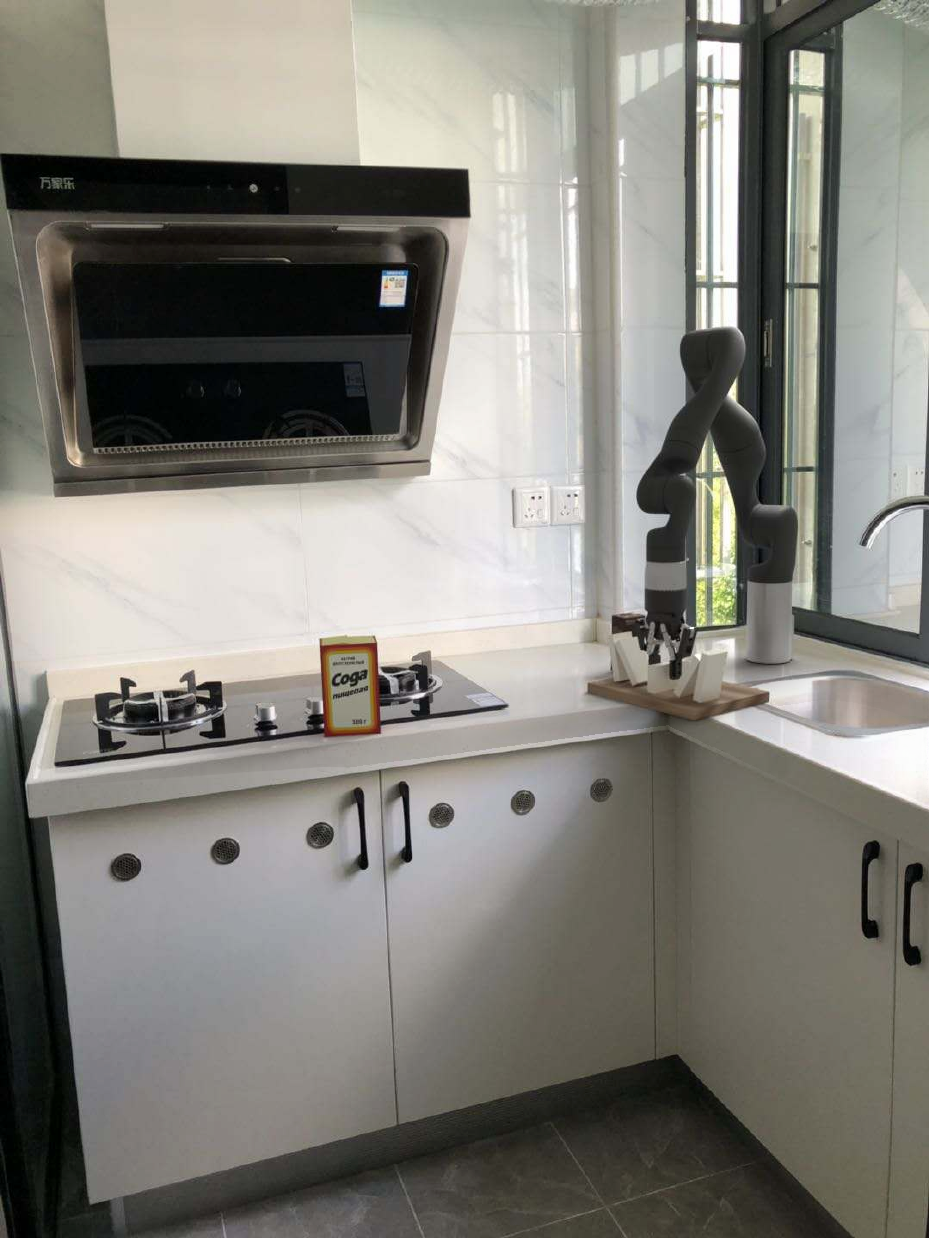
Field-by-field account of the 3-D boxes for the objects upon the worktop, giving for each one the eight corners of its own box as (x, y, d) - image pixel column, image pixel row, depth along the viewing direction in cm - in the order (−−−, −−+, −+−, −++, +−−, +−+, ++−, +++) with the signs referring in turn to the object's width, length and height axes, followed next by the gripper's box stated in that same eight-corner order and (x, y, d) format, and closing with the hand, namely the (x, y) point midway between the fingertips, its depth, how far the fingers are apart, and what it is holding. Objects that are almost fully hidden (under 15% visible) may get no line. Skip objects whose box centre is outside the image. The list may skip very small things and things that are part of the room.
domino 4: (673, 691, 183) (694, 654, 178) (692, 687, 186) (713, 650, 181) (678, 697, 182) (699, 660, 177) (697, 693, 185) (719, 656, 180)
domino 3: (681, 684, 192) (647, 692, 187) (681, 658, 191) (647, 665, 186) (687, 685, 191) (653, 693, 186) (688, 659, 190) (653, 666, 185)
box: (624, 675, 209) (624, 617, 206) (609, 671, 212) (609, 614, 210) (646, 671, 212) (646, 614, 210) (631, 667, 215) (631, 611, 213)
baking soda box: (378, 723, 178) (374, 633, 175) (381, 733, 171) (377, 640, 169) (324, 726, 176) (319, 636, 174) (324, 737, 170) (319, 643, 167)
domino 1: (614, 681, 196) (607, 635, 196) (633, 677, 199) (625, 632, 199) (619, 681, 195) (612, 634, 195) (638, 677, 197) (631, 631, 197)
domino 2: (632, 686, 192) (614, 643, 195) (651, 682, 195) (633, 639, 197) (637, 682, 191) (619, 639, 193) (656, 678, 193) (637, 636, 196)
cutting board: (660, 676, 207) (660, 667, 207) (769, 701, 185) (769, 691, 185) (587, 691, 196) (587, 682, 195) (693, 720, 174) (693, 710, 174)
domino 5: (693, 699, 180) (701, 652, 177) (712, 694, 182) (720, 648, 179) (699, 703, 178) (708, 655, 175) (719, 698, 181) (727, 651, 178)
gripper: (709, 587, 182) (708, 680, 184) (651, 579, 193) (651, 667, 196) (680, 591, 177) (679, 687, 180) (623, 583, 189) (622, 673, 192)
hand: (664, 676), depth 188 cm, fingers open, 4 cm apart
